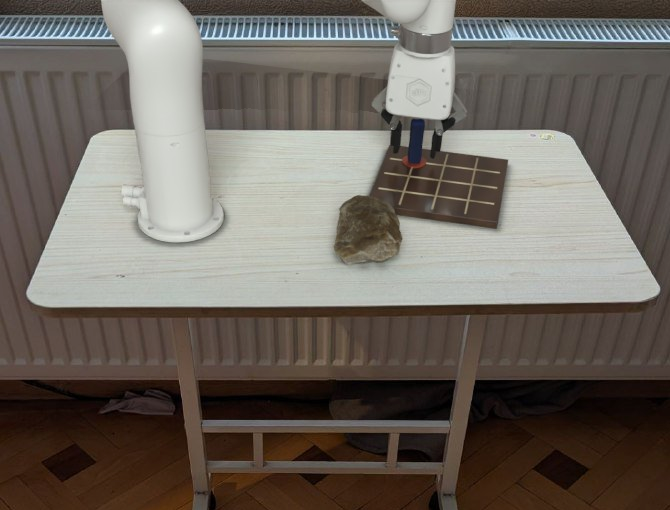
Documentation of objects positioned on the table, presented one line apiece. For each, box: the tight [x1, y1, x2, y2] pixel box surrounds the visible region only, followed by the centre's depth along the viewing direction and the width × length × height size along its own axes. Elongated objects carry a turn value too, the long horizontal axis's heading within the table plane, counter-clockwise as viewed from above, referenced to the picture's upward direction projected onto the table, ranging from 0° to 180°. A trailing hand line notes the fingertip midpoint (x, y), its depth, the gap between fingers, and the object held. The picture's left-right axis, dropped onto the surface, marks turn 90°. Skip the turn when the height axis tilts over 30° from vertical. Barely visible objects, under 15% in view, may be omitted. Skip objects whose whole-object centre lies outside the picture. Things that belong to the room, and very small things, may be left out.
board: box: [368, 144, 509, 230], centre depth 132 cm, size 20×20×1 cm
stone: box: [333, 194, 403, 266], centre depth 118 cm, size 13×8×8 cm
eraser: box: [408, 118, 426, 164], centre depth 134 cm, size 2×2×7 cm
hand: (415, 151), depth 135 cm, fingers open, 5 cm apart
